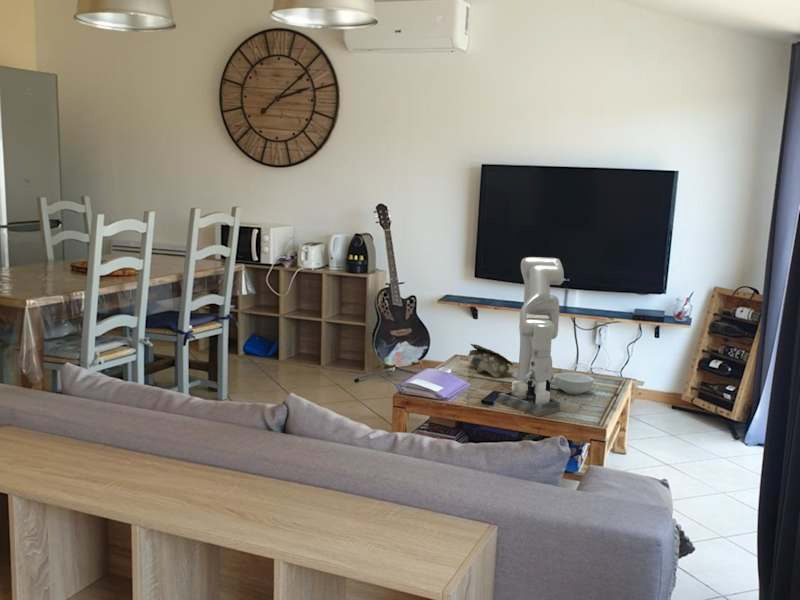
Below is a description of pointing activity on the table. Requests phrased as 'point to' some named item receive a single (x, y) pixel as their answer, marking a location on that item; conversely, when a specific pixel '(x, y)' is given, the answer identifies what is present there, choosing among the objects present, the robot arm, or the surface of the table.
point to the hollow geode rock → (488, 361)
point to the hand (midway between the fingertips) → (538, 393)
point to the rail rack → (518, 401)
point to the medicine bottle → (539, 394)
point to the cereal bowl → (573, 382)
